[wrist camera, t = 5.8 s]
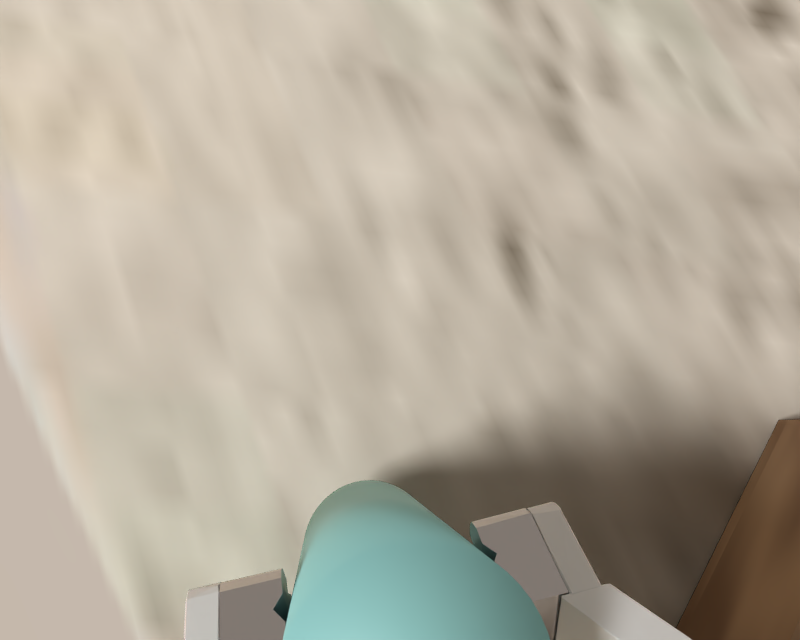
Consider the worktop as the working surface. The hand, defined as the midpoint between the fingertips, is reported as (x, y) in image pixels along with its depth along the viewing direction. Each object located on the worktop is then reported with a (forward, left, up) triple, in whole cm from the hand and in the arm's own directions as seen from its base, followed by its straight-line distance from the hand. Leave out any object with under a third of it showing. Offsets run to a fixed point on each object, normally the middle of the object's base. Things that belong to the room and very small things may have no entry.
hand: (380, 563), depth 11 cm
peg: (0, 0, -5) cm, 5 cm away
